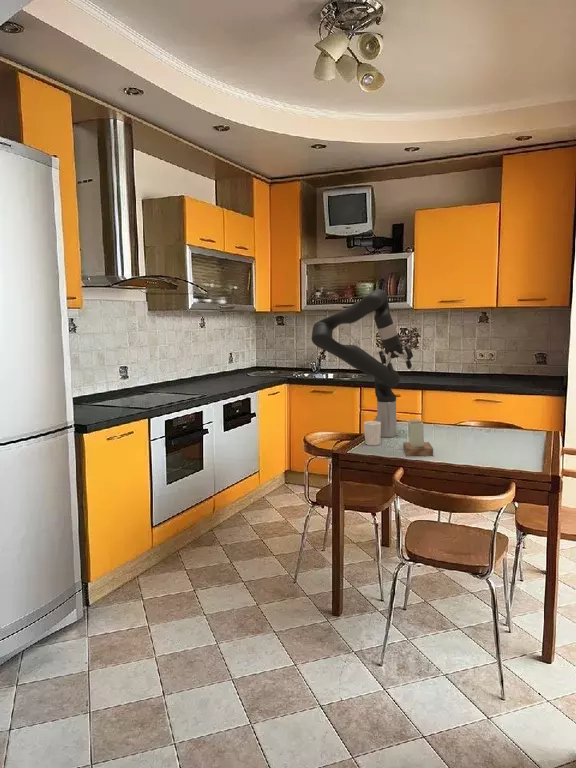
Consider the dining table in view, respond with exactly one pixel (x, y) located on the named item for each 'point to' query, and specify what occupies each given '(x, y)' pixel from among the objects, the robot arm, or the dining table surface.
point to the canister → (416, 433)
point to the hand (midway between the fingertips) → (401, 370)
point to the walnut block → (418, 450)
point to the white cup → (372, 432)
